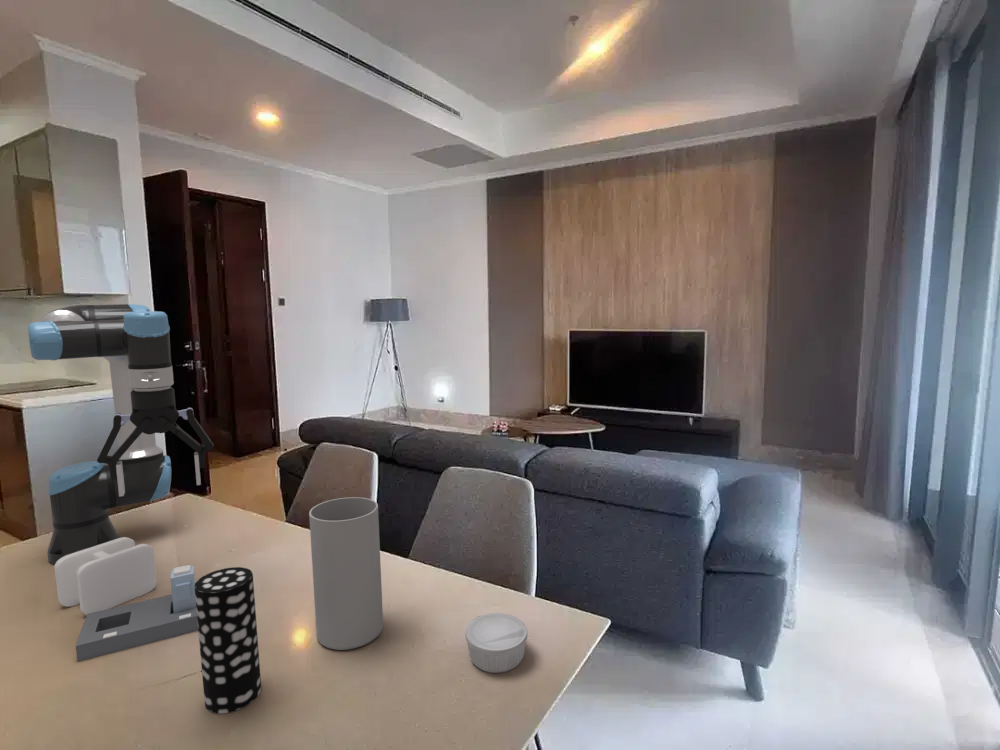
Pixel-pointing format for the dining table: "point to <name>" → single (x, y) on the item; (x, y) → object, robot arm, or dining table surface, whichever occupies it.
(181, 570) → the plug
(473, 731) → the dining table surface
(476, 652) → the ramekin
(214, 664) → the spotted tube
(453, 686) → the dining table surface
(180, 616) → the socket panel
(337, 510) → the cylinder vase
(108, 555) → the cable organizer
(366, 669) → the dining table surface
